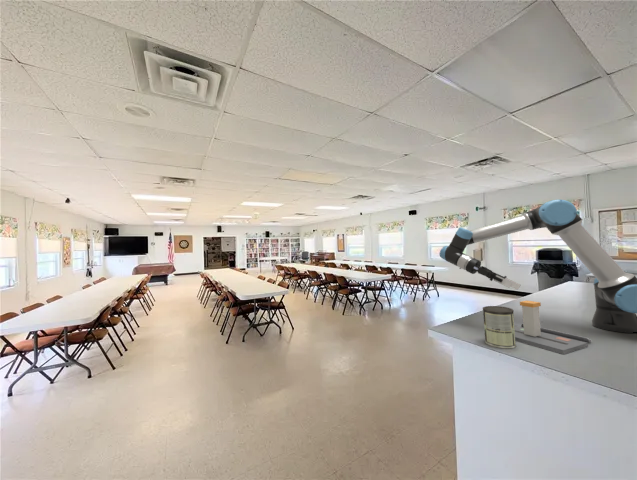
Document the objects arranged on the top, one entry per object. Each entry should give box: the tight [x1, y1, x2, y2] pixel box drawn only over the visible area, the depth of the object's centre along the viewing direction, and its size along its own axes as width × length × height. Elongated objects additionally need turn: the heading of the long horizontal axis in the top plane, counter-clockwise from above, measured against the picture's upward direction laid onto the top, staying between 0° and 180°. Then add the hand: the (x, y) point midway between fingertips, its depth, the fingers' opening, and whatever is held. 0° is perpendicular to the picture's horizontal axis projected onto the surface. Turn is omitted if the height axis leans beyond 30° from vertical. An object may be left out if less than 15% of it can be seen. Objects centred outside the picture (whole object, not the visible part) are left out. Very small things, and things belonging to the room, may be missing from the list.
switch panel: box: [514, 324, 589, 355], centre depth 106 cm, size 26×16×2 cm, turn 22°
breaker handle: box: [519, 300, 542, 337], centre depth 108 cm, size 5×5×14 cm
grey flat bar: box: [520, 323, 592, 344], centre depth 110 cm, size 23×4×2 cm, turn 22°
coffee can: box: [482, 305, 517, 349], centre depth 104 cm, size 10×10×14 cm
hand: (515, 286), depth 116 cm, fingers open, 13 cm apart
